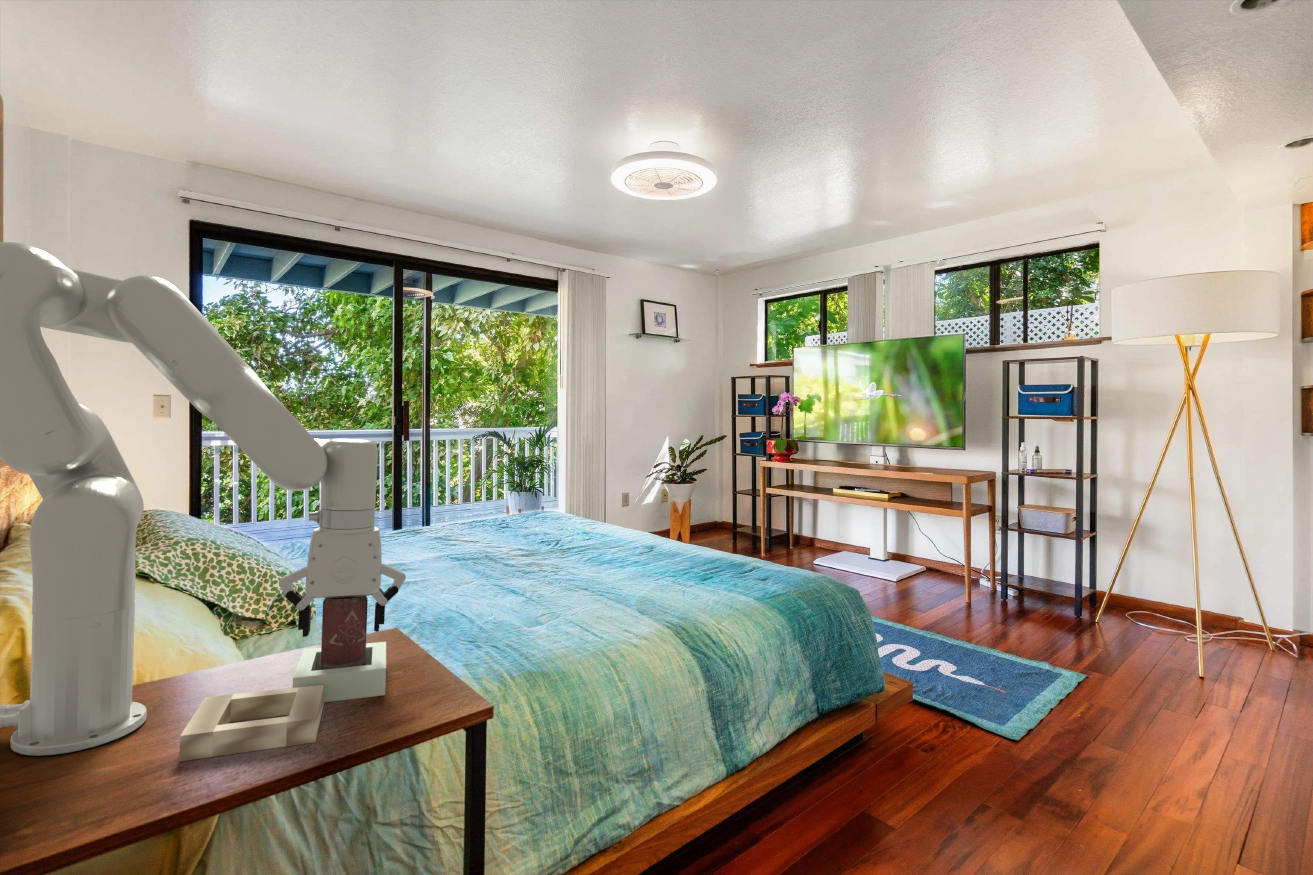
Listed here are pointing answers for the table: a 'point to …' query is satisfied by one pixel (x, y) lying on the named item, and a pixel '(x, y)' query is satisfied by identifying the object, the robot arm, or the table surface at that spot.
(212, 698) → the socket block
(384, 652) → the pale green square frame
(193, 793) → the table surface
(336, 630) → the can
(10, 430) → the robot arm
